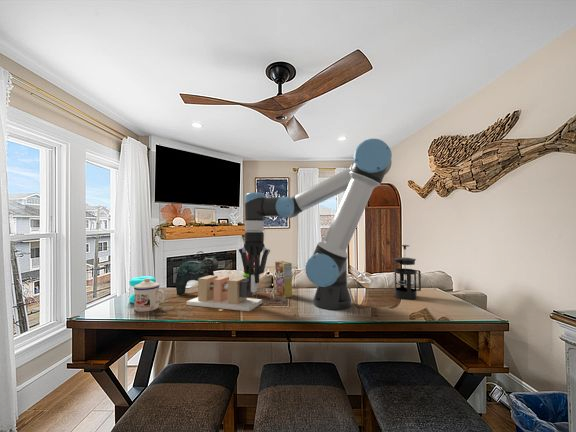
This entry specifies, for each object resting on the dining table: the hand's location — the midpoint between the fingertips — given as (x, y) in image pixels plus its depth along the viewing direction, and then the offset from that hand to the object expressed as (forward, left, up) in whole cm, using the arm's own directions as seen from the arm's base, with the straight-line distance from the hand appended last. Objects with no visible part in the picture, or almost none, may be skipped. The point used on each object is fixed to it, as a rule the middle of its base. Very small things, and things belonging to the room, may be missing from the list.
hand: (254, 291), depth 116 cm
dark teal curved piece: (+35, -11, -6) cm, 37 cm away
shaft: (+13, 0, -2) cm, 13 cm away
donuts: (+49, +7, -6) cm, 50 cm away
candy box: (-5, -21, -6) cm, 22 cm away
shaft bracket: (+13, 0, -6) cm, 15 cm away
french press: (-58, -35, -6) cm, 68 cm away
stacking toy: (+11, -18, -6) cm, 22 cm away
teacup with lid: (+37, +15, -6) cm, 41 cm away
